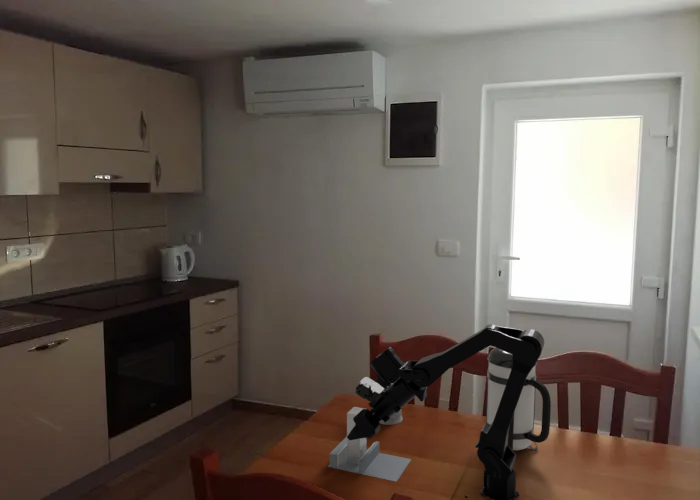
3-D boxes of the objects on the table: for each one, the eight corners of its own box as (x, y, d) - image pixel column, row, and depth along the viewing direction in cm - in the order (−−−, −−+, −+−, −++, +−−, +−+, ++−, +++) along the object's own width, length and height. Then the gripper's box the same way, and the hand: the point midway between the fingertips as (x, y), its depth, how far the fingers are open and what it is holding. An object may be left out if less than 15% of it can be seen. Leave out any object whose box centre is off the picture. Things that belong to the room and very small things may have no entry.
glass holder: (400, 412, 179) (400, 365, 177) (408, 432, 165) (409, 381, 163) (372, 413, 178) (372, 366, 177) (377, 433, 164) (378, 382, 163)
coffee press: (478, 457, 150) (481, 345, 147) (482, 431, 166) (486, 330, 162) (548, 467, 145) (553, 351, 142) (546, 440, 160) (551, 335, 157)
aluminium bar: (366, 457, 148) (366, 408, 146) (359, 465, 144) (360, 415, 142) (353, 454, 149) (354, 406, 148) (346, 462, 145) (347, 413, 143)
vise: (411, 463, 147) (411, 446, 146) (396, 485, 136) (396, 467, 135) (346, 449, 154) (347, 433, 154) (327, 470, 143) (327, 453, 143)
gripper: (388, 359, 150) (349, 393, 156) (361, 381, 133) (318, 419, 139) (417, 392, 148) (376, 426, 154) (393, 420, 131) (348, 457, 136)
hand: (355, 431), depth 146 cm, fingers open, 9 cm apart
